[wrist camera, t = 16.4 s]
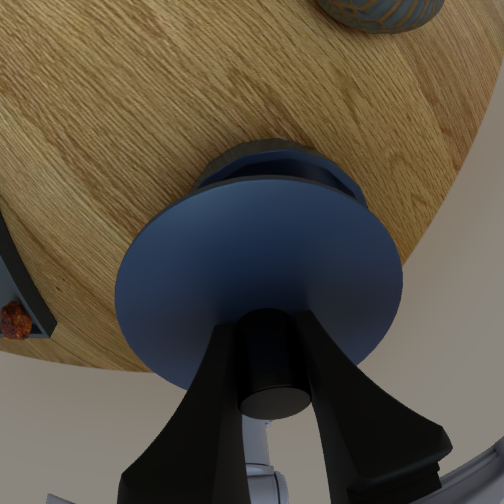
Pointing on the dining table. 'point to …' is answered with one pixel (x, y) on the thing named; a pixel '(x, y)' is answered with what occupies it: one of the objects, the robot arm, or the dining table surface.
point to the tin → (277, 165)
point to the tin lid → (257, 283)
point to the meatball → (15, 321)
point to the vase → (382, 14)
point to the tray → (21, 288)
